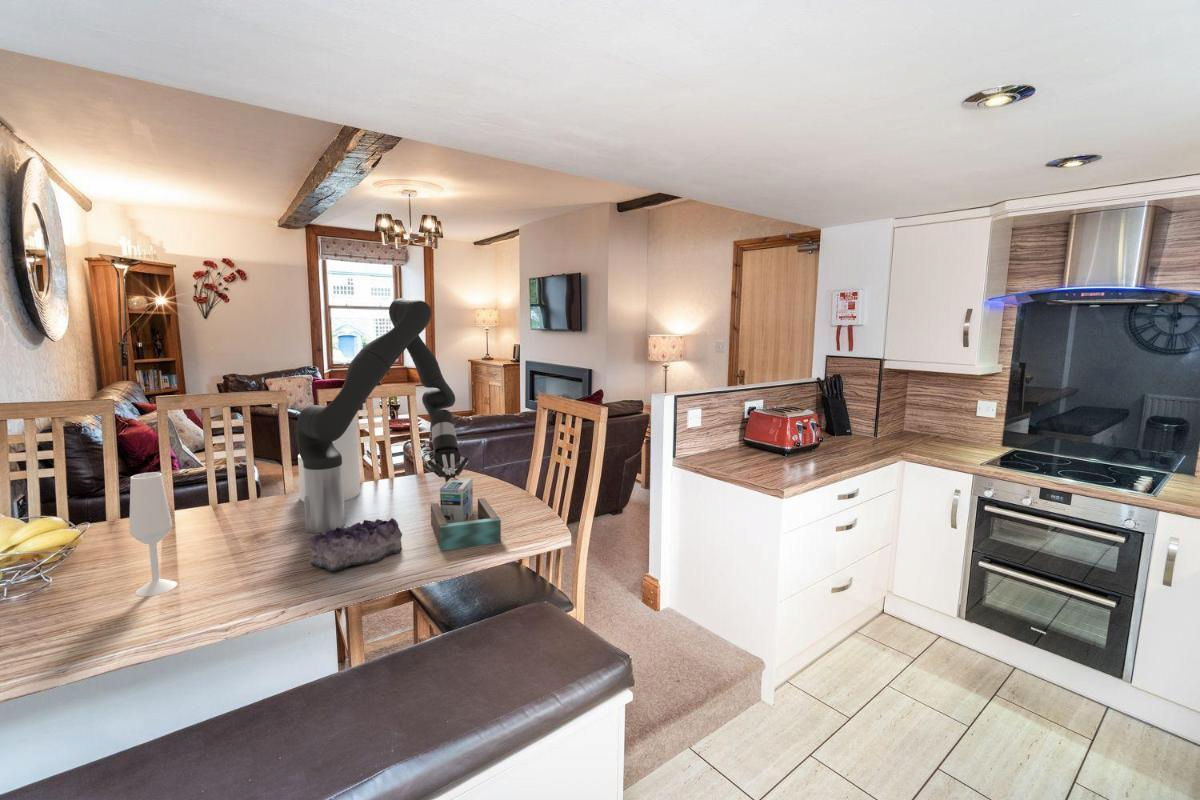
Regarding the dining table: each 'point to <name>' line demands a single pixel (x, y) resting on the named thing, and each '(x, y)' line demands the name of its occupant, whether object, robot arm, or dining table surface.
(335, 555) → the geode
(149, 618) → the dining table surface
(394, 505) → the dining table surface
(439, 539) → the channel
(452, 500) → the light bulb box
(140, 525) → the champagne flute
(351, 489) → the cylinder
